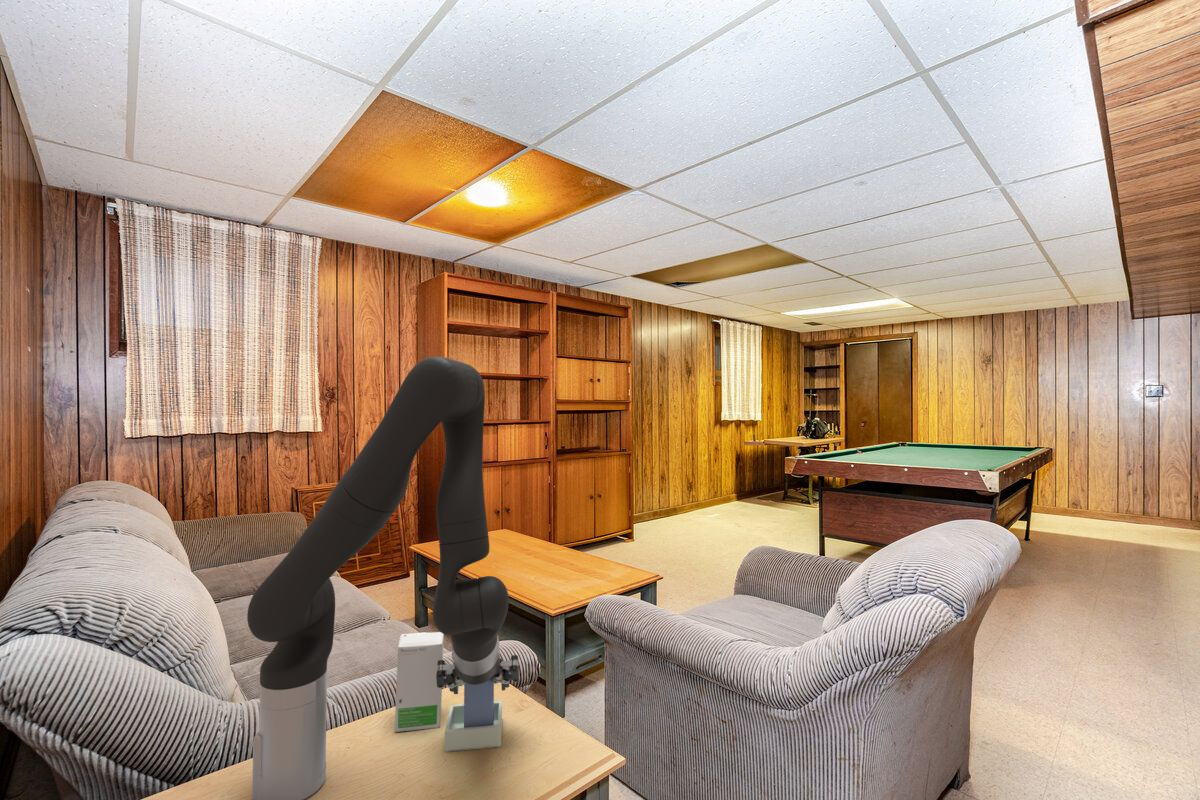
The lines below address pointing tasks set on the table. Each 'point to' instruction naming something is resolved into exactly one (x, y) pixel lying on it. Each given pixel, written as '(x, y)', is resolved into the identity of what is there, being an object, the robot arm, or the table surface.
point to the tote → (472, 731)
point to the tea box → (479, 704)
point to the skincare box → (418, 681)
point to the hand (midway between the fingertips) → (480, 686)
